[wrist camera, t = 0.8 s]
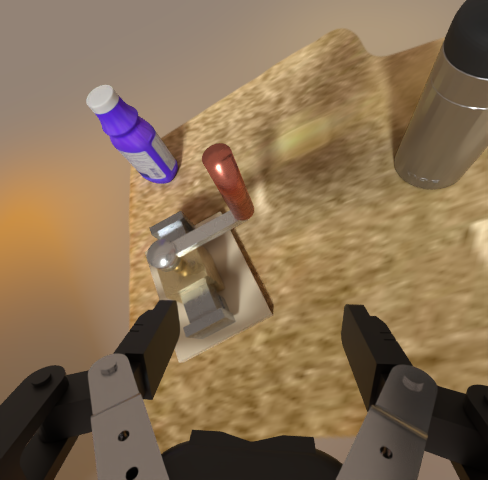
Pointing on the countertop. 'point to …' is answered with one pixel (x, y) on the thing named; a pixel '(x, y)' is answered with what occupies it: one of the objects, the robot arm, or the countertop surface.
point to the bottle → (132, 135)
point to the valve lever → (241, 209)
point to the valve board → (235, 294)
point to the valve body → (194, 282)
